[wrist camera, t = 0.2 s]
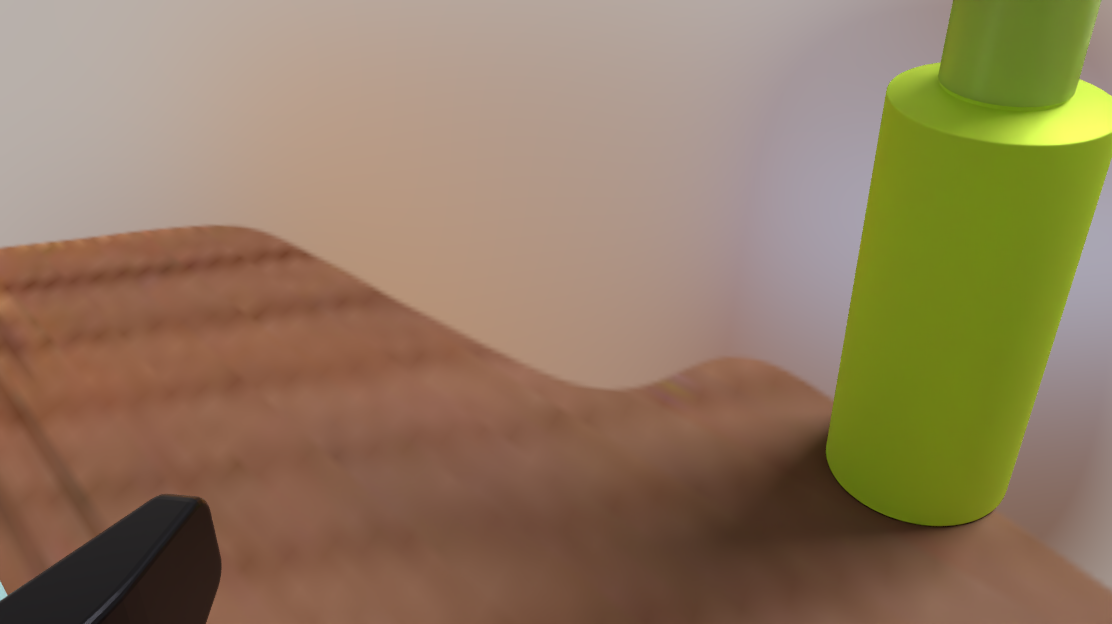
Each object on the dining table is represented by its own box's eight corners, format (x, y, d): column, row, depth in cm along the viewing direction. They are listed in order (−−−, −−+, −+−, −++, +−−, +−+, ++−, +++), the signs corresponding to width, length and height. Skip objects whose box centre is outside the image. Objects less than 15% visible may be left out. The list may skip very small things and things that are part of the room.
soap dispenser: (988, 399, 36) (1160, -213, 25) (1021, 538, 31) (1262, -170, 20) (823, 382, 37) (919, -213, 26) (827, 513, 32) (950, -172, 21)
